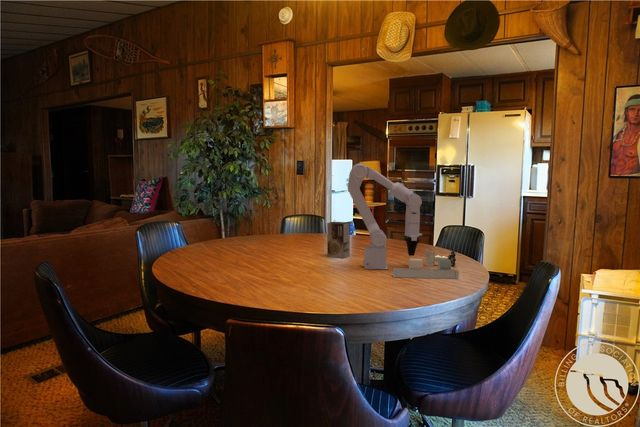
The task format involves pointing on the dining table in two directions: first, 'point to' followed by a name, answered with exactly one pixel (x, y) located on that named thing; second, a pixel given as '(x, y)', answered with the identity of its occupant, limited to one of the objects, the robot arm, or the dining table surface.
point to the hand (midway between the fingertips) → (411, 255)
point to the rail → (429, 271)
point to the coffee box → (338, 239)
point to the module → (415, 263)
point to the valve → (431, 258)
